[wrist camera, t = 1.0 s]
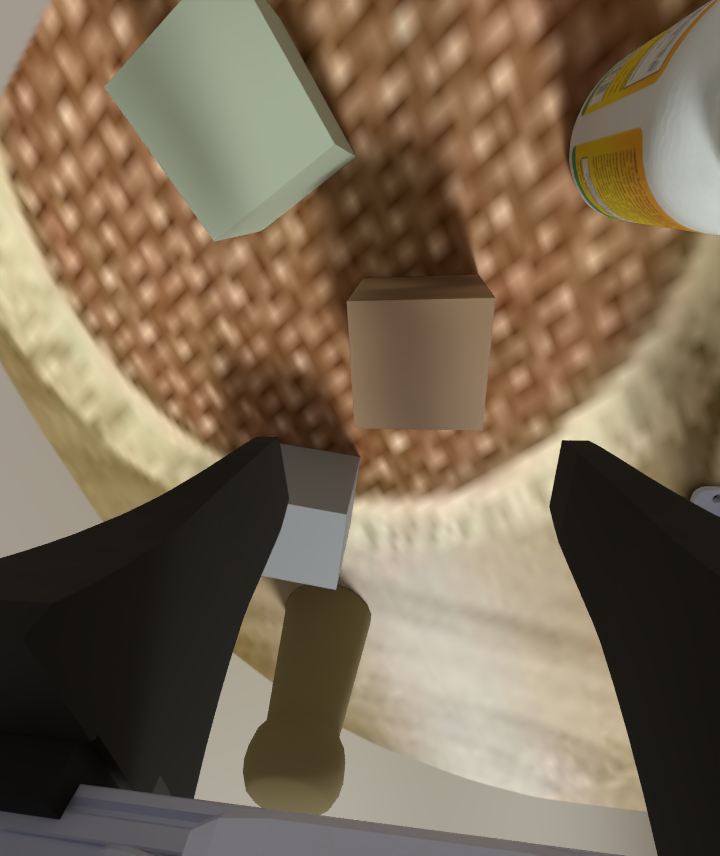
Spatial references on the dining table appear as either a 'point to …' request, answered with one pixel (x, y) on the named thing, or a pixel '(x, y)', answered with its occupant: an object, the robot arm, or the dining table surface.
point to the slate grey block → (314, 516)
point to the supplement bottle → (656, 131)
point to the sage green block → (230, 113)
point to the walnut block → (420, 351)
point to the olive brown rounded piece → (308, 702)
